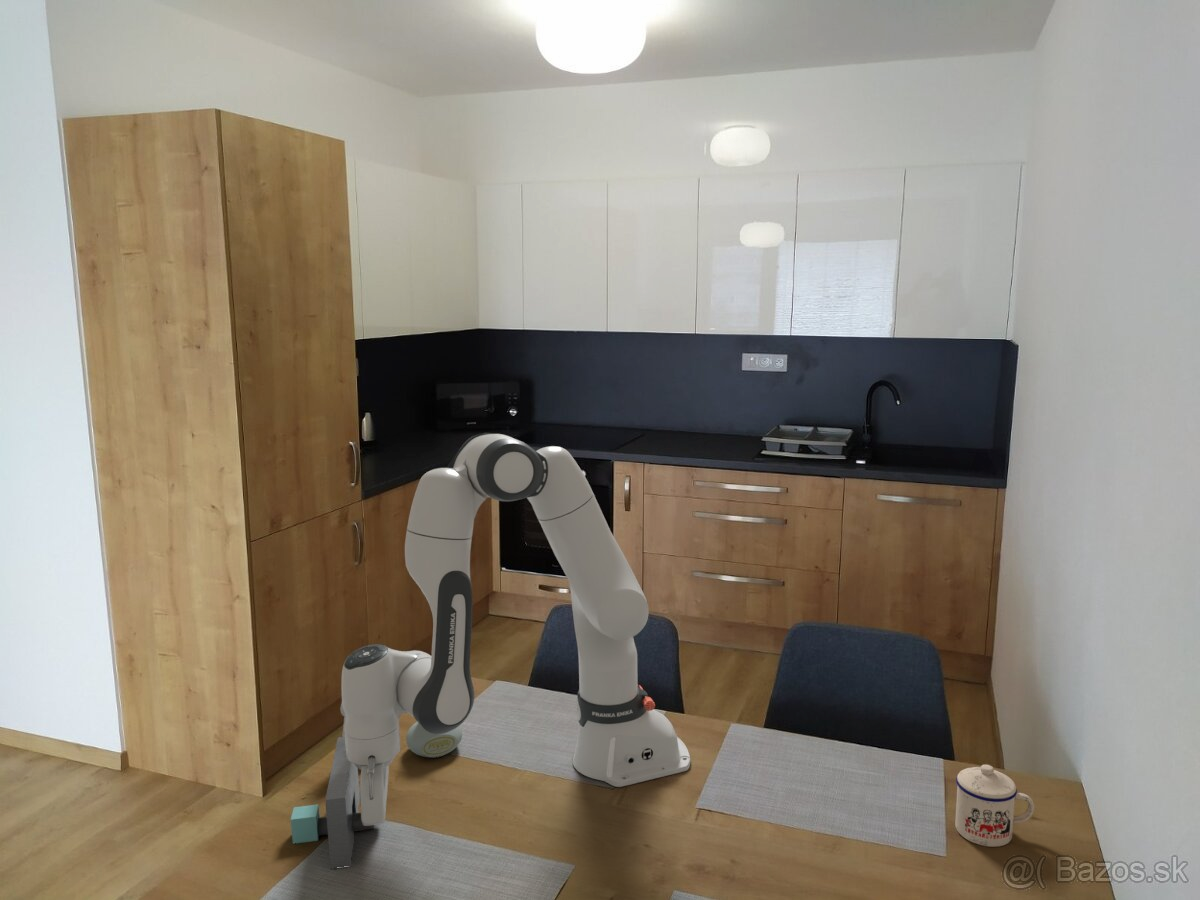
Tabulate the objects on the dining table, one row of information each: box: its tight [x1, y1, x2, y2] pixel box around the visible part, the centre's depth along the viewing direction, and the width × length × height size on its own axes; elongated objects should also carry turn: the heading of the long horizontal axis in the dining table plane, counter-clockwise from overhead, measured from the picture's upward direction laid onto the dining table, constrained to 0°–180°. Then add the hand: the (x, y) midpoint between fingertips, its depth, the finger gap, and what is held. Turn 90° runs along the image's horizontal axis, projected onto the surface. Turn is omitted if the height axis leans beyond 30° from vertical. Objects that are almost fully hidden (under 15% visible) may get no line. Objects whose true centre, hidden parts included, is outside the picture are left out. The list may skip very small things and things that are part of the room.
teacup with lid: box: [954, 764, 1035, 848], centre depth 143 cm, size 12×9×12 cm
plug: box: [290, 803, 375, 845], centre depth 147 cm, size 13×4×4 cm, turn 101°
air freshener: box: [405, 721, 463, 759], centre depth 173 cm, size 11×8×10 cm
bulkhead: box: [324, 736, 360, 869], centre depth 147 cm, size 3×20×12 cm, turn 11°
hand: (378, 817), depth 149 cm, fingers closed, pressing on plug
